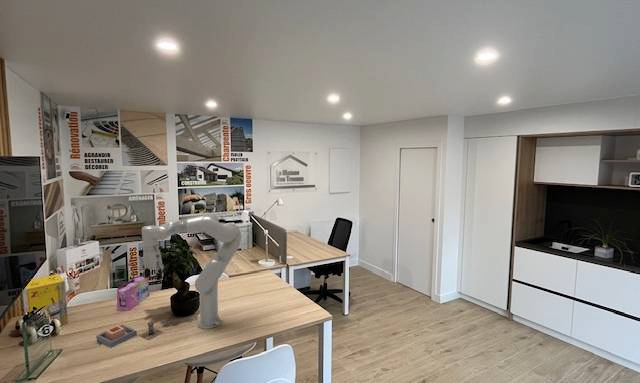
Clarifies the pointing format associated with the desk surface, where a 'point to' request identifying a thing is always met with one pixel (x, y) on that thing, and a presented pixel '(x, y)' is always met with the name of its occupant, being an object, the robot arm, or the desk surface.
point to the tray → (117, 341)
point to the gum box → (132, 293)
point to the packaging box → (47, 297)
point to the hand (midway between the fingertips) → (153, 278)
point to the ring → (114, 332)
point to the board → (151, 332)
